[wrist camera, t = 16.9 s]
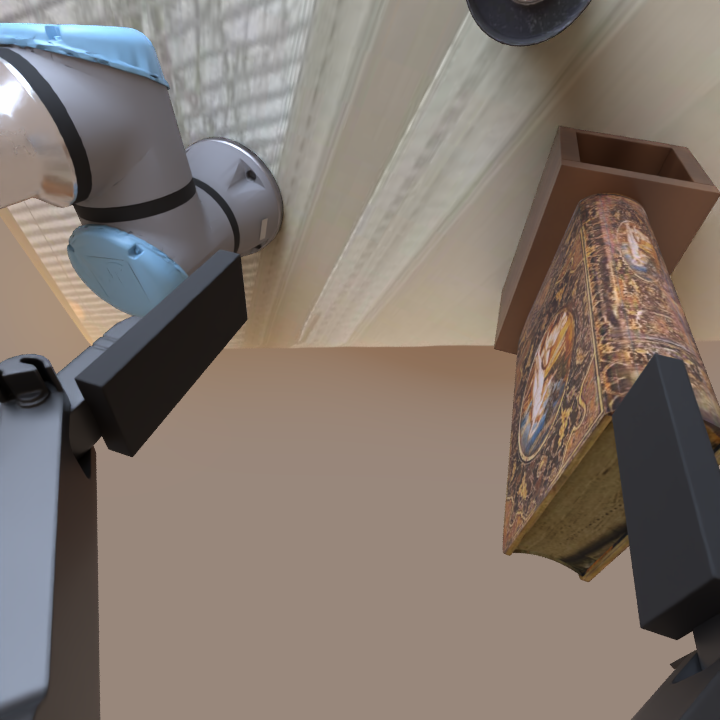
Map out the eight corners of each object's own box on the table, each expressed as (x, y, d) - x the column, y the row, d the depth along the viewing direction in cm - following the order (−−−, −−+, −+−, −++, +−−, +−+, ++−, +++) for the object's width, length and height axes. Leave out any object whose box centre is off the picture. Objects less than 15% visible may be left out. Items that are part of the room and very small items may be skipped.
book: (585, 186, 38) (618, 395, 20) (654, 201, 37) (755, 432, 19) (518, 338, 49) (500, 558, 31) (570, 352, 48) (583, 587, 30)
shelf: (501, 292, 59) (493, 349, 51) (559, 125, 46) (561, 164, 37) (598, 314, 57) (606, 377, 49) (687, 147, 44) (721, 193, 35)
